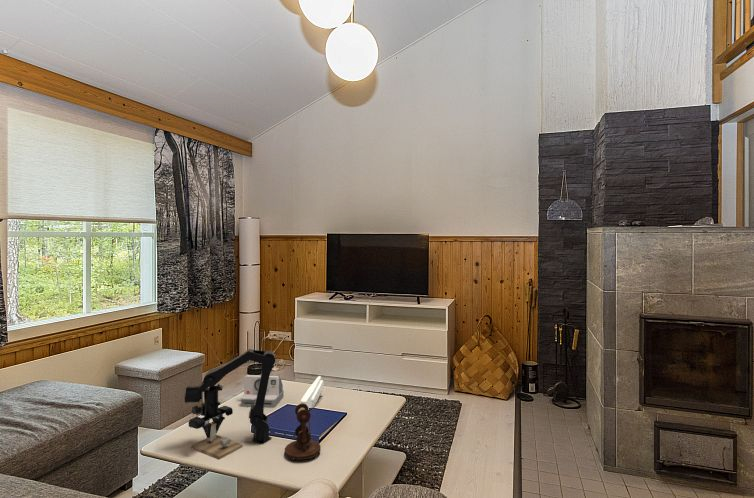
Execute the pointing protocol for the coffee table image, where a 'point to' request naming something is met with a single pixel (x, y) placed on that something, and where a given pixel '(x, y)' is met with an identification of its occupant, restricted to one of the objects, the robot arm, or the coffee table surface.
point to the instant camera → (272, 393)
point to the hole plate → (217, 447)
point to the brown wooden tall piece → (302, 437)
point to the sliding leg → (212, 432)
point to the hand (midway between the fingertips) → (211, 436)
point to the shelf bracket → (313, 393)
